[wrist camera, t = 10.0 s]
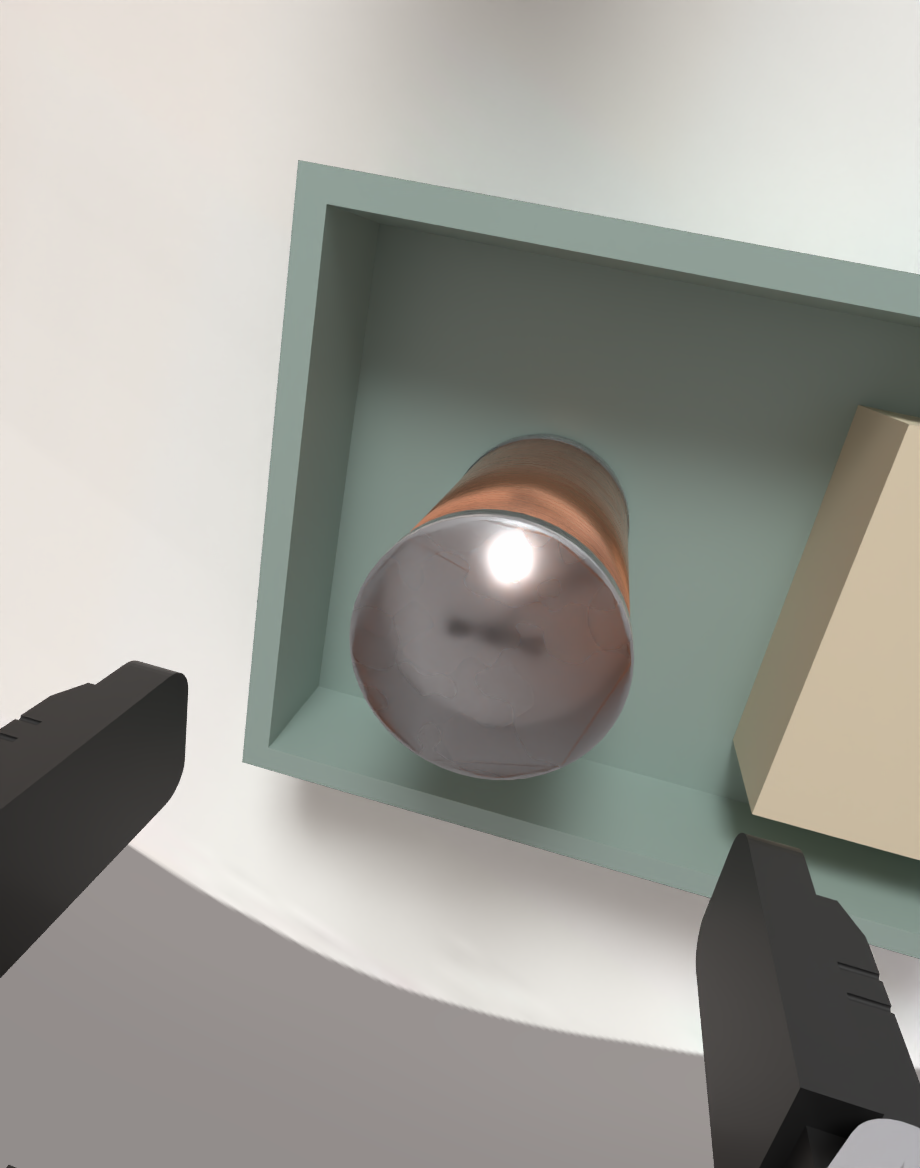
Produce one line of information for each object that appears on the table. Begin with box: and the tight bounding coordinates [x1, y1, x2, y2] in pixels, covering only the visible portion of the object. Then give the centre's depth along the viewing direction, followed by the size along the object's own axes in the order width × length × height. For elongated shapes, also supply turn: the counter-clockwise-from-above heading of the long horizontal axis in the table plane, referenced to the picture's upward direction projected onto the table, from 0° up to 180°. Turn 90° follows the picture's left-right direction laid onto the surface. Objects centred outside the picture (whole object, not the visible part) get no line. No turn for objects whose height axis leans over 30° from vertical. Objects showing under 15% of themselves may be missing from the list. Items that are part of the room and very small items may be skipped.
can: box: [349, 434, 634, 780], centre depth 19 cm, size 6×6×10 cm
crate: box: [242, 160, 920, 959], centre depth 22 cm, size 24×17×5 cm
